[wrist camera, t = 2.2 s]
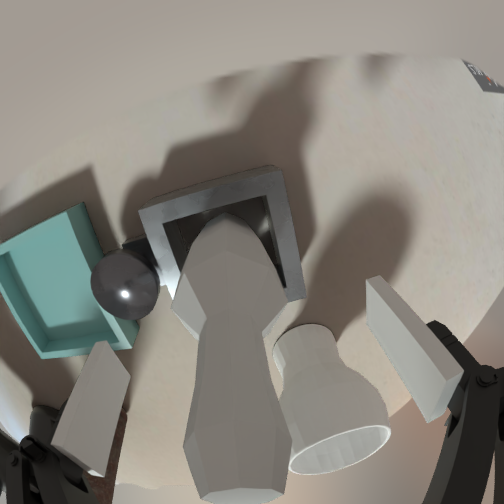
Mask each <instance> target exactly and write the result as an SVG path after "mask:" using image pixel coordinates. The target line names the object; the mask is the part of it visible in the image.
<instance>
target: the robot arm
mask: <svg viewBox="0 0 504 504" xmlns="http://www.w3.org/2000/svg"><path fill="white" fill-rule="evenodd" d="M366 310H367V323H366V324H367V326H368V327H369V329H370V330H371V332H372V333H373V335H374V336H375V338H376V339H377V341H378V342H379V344H380V346H381V347H382V349H383V350H384V352H385V353H386V355H387V357H388V358H389V360H390V361H391V363H392V364H393V366H394V368H395V369H396V371H397V373H398V374H399V376H400V377H401V379H402V381H403V382H404V384H405V386H406V387H407V389H408V391H409V392H410V394H411V396H412V397H413V399H414V401H415V402H416V404H417V406H418V408H419V409H420V411H421V413H422V415H423V416H424V418H425V420H426V422H427V423H429V422H431V421H433V420H434V419H436V418H438V417H440V416H441V415H443V414H444V412H445V410H446V408H447V406H448V408H449V409H450V411H451V414H450V415H449V417H448V419H447V421H446V423H445V426H447V424H448V426H447V431H446V435H445V438H444V442H443V446H442V450H441V453H440V456H439V460H438V463H437V466H436V469H435V472H434V475H433V478H432V480H431V483H430V486H429V488H428V491H427V493H426V496H425V498H424V501H423V503H422V504H481V502H482V499H483V495H484V492H485V489H486V485H487V481H488V477H489V473H490V468H491V464H492V459H493V453H494V452H495V488H494V501H493V502H494V503H493V504H504V367H502V368H499V369H494V368H493V367H492V366H488V365H480V364H479V363H478V362H477V361H476V360H475V358H474V357H473V356H472V355H471V354H470V353H469V351H467V349H466V348H465V347H464V346H463V345H462V343H461V342H460V341H458V339H457V338H456V337H455V336H454V335H452V332H451V331H450V330H449V329H448V328H447V327H446V326H445V325H443V324H441V323H440V322H438V321H436V320H434V321H432V322H430V323H428V324H425V323H424V322H423V321H422V320H421V319H420V317H419V316H418V315H417V314H416V313H415V312H414V311H413V310H412V309H411V308H410V306H409V305H408V304H407V303H406V302H405V301H404V300H403V299H402V298H401V297H400V296H399V295H398V293H397V292H396V291H395V290H394V289H393V288H392V287H391V286H390V285H389V284H388V283H387V282H386V281H385V280H384V279H383V278H382V277H381V276H380V275H378V276H375V277H372V278H369V279H366ZM130 377H131V376H130V374H129V373H128V372H127V370H126V369H125V367H124V366H123V364H122V363H121V362H120V360H119V359H118V357H117V356H116V354H115V353H114V351H113V350H112V348H111V347H110V345H109V343H108V342H107V340H106V341H100V342H96V343H95V345H94V346H93V348H92V350H91V352H90V354H89V356H88V358H87V360H86V363H85V365H84V367H83V369H82V371H81V373H80V375H79V377H78V379H77V382H76V384H75V386H74V388H73V390H72V393H71V395H70V397H69V398H68V399H67V400H66V401H65V402H64V404H63V405H62V407H61V409H60V411H58V410H55V409H53V408H50V407H47V406H42V405H38V406H35V407H34V409H33V411H32V413H31V415H30V429H29V435H27V436H25V437H24V438H23V439H22V440H21V442H20V444H19V443H17V442H16V441H15V440H13V439H12V438H11V437H10V436H8V435H7V434H6V433H5V432H4V431H2V430H1V429H0V496H1V492H2V491H4V492H5V493H6V499H7V504H100V503H99V501H98V499H97V497H96V496H95V494H94V492H93V490H92V488H91V486H90V484H89V482H88V479H87V478H86V476H85V475H84V474H82V473H83V470H85V471H87V472H88V473H90V474H91V475H94V476H100V477H105V472H106V468H107V463H108V459H109V454H110V450H111V446H112V442H113V438H114V434H115V430H116V426H117V422H118V419H119V415H120V411H121V408H122V404H123V401H124V397H125V394H126V391H127V387H128V384H129V381H130Z"/></svg>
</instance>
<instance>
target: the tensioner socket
mask: <svg viewBox="0 0 504 504" xmlns="http://www.w3.org/2000/svg"><path fill="white" fill-rule="evenodd" d="M259 196H262V199H263V204H264V208H265V212H266V216H267V220H268V225H269V229H270V233H271V237H272V242H273V246H274V251H275V255H276V259H277V264H278V265H275V266H274V267H275V269H276V271H277V274H278V276H279V279H280V282H281V284H282V287H283V289H284V292H285V295H286V297H287V300H288V302H292V301H295V300H299V299H303V298H306V297H307V296H306V290H305V284H304V279H303V273H302V267H301V262H300V257H299V251H298V246H297V241H296V236H295V230H294V225H293V220H292V216H291V211H290V206H289V201H288V196H287V192H286V187H285V183H284V178H283V174H282V170H281V169H279V168H277V167H275V166H273V165H269V166H265V167H260V168H256V169H252V170H248V171H244V172H240V173H236V174H233V175H229V176H225V177H221V178H218V179H214V180H211V181H207V182H204V183H200V184H197V185H193V186H190V187H187V188H183V189H180V190H177V191H174V192H170V193H167V194H164V195H161V196H158V197H155V198H152V199H151V200H150V201H149V202H147V203H146V204H145V205H144V206H143V207H142V208H140V209H139V210H138V213H139V215H140V218H141V221H142V224H143V227H144V229H145V232H146V234H144V235H141V236H138V237H135V238H131V239H128V240H126V241H125V242H124V243H123V244H122V247H123V249H116V250H113V251H110V252H109V253H107V254H106V255H105V256H103V258H102V259H101V260H100V261H99V262H98V263H97V264H96V266H95V267H94V269H93V271H92V273H91V279H90V284H91V290H92V293H93V295H94V297H95V299H96V301H97V302H98V303H99V305H100V306H101V307H102V308H103V309H104V310H105V311H107V312H108V313H110V314H111V315H113V316H115V317H118V318H120V319H125V320H136V319H140V318H143V317H145V316H146V315H148V314H149V313H150V312H151V311H152V310H153V308H154V306H155V304H156V301H157V298H158V296H159V293H160V286H162V285H167V287H168V290H169V292H170V294H171V297H172V299H173V298H174V295H175V291H176V288H177V284H178V281H179V277H180V274H181V272H182V269H183V266H184V264H185V261H186V258H187V256H188V253H187V250H186V248H185V245H184V242H183V239H182V236H181V233H180V230H179V227H178V224H177V221H176V219H179V218H182V217H185V216H189V215H192V214H196V213H199V212H203V211H206V210H210V209H214V208H217V207H221V206H224V205H228V204H232V203H236V202H239V201H243V200H247V199H251V198H255V197H259Z"/></svg>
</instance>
